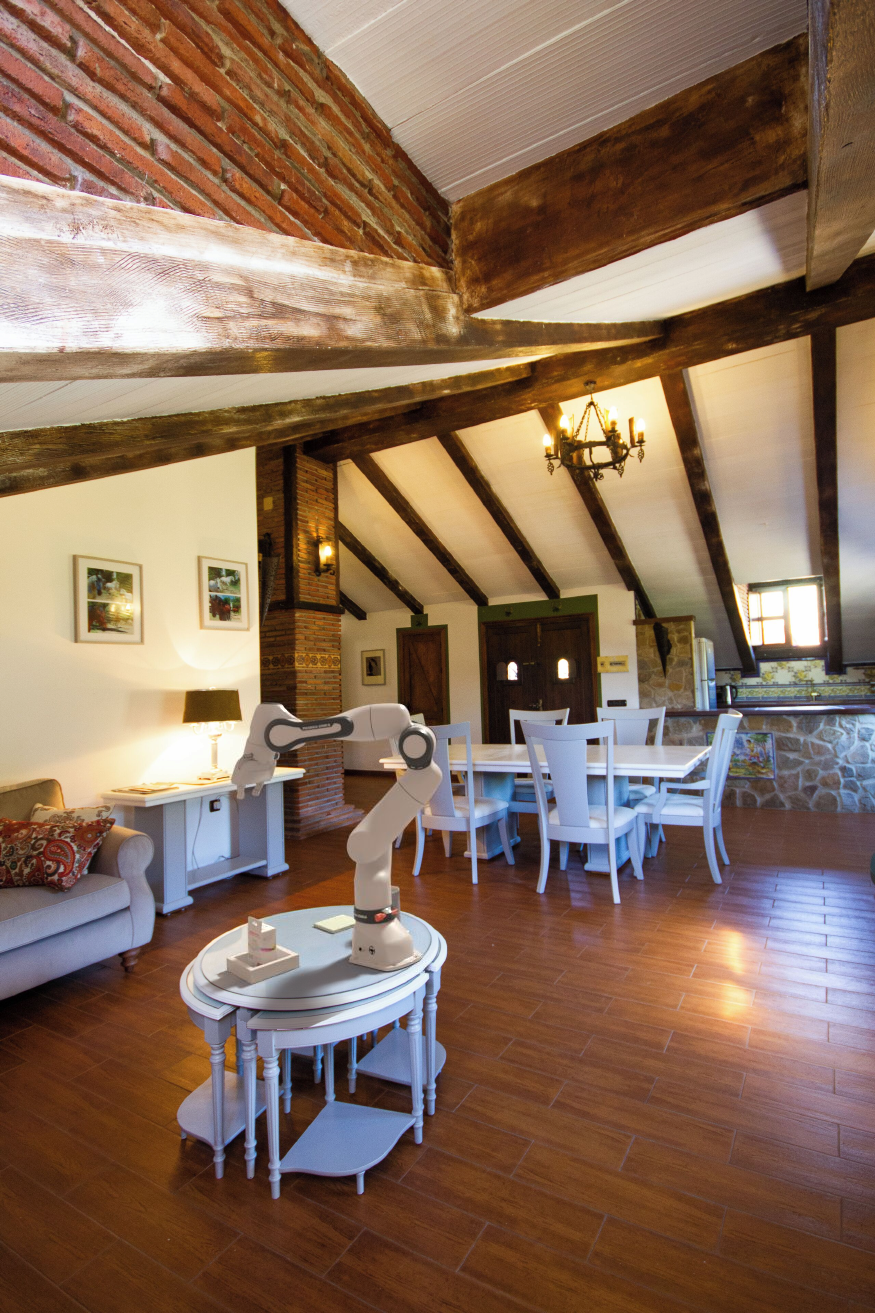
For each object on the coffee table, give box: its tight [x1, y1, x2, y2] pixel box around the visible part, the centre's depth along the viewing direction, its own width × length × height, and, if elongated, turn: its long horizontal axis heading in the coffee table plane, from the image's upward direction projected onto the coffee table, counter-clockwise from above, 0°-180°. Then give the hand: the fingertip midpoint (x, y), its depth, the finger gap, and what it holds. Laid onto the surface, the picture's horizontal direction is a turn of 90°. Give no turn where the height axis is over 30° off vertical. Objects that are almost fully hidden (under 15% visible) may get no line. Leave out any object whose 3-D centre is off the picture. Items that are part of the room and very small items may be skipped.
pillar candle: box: [391, 885, 402, 924], centre depth 214 cm, size 10×10×15 cm
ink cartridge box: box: [247, 916, 277, 968], centre depth 189 cm, size 9×5×15 cm, turn 45°
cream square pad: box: [313, 913, 355, 935], centre depth 223 cm, size 12×12×1 cm
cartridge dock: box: [225, 943, 300, 985], centre depth 188 cm, size 15×15×4 cm
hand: (247, 797), depth 200 cm, fingers open, 8 cm apart
